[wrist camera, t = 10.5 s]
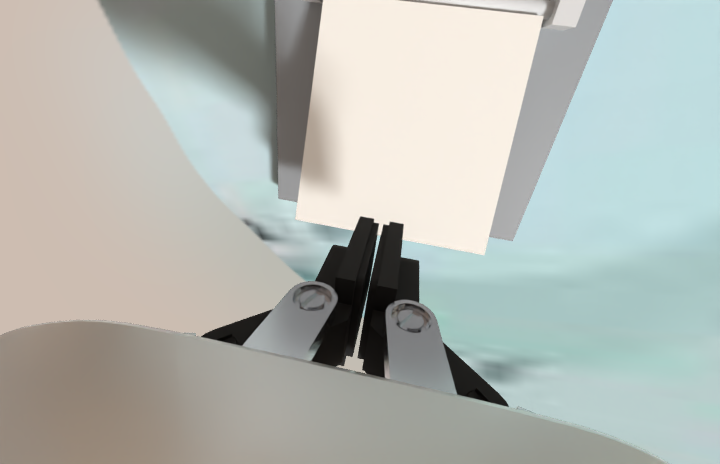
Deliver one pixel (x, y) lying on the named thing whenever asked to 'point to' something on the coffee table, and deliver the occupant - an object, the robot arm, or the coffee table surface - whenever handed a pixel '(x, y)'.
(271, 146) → the coffee table surface
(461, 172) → the tile
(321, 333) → the robot arm
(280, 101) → the board
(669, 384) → the coffee table surface
